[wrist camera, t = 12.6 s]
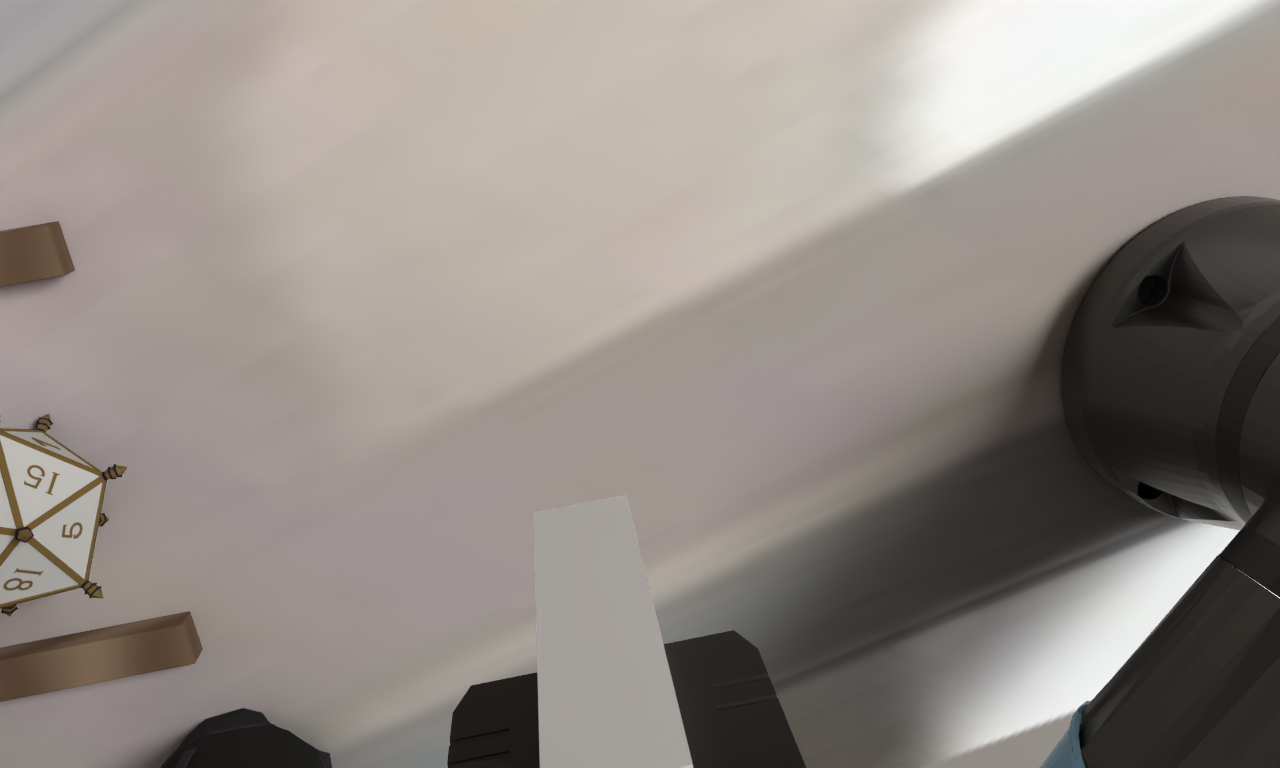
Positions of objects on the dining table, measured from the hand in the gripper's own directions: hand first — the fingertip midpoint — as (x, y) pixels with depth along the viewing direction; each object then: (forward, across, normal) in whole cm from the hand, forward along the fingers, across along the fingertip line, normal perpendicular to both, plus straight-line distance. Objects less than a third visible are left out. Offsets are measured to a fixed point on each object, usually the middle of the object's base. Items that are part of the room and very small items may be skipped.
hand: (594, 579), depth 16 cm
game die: (+29, +23, +6) cm, 37 cm away
